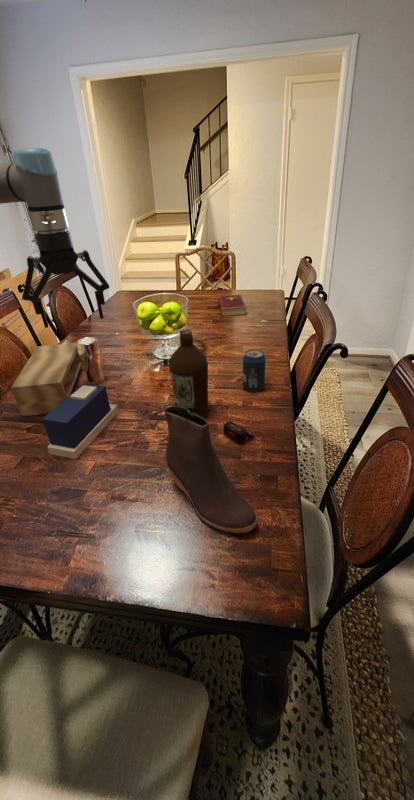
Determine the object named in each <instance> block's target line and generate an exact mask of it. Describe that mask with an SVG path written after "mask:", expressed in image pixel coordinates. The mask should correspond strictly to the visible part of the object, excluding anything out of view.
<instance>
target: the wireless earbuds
mask: <svg viewBox="0 0 414 800" xmlns="http://www.w3.org/2000/svg"><path fill="white" fill-rule="evenodd" d="M223 435H224V436H225V437H227V438H229V439H231V440H232V441H234V442H235V443H237V444H239V445H242V444H243V443H245V442H246V441H247V439H248V440H251V439H254V438H255V435H253V434H252V433H251V432H250V431H248V430H247V429H246V428H244V427H243V426H240V425H239V424H237V423H236V422H233V421H227V422H225V423H224V424H223Z"/></svg>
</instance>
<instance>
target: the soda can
mask: <svg viewBox="0 0 414 800" xmlns="http://www.w3.org/2000/svg"><path fill="white" fill-rule="evenodd" d="M265 379H266V357H265V354H264V352H263V351H262V350H260V349H248V350H246V351H244V355H243V357H242V386H243V387H244V388H245V390H246V391H248V392H254V393H255V392H259V391H261V390H262V389H263V388H264V386H265V384H266V381H265Z"/></svg>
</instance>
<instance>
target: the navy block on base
mask: <svg viewBox="0 0 414 800" xmlns="http://www.w3.org/2000/svg"><path fill="white" fill-rule="evenodd" d="M119 412H120V411H119V406H118V404H113V403H110V400H109V396H108V391H107V387H106V385H90V384H88V383H82V384H81V385H80V386H79V387H78V388H76V390H74V391H72V392H71V395H70V396H69V397H67V398H66V399H65V400H64V401H63V402H61V403H60V404H59V405H58V406H57V407H56V408H54V409H53V410H52V411H51V412H50V413H46V414H45V416H44V417H42V418H41V419H42V420H41V421H42V423H43V426H44V429H45V432H46V434H47V437H48V440H49V444H48V446H46V448H47V451H48V454H49V455H52V456H57V457H62V458H66V459H73V460H77V459H78V458H79V457H80V456H81V454H82V453H83V452H84V451H85V450H86V449H87V448H88V447H89V446H90V444H92V443H93V441H94V440H95V439H96V438H97V437H98V436H99V435H100V433H101V432H102V431H103V430H104V429H105V428H106V426H108V424H110V423H111V421H112V420H113V419H114V418H115V417H116V416H117V415H118V414H119Z"/></svg>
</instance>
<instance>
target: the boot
mask: <svg viewBox="0 0 414 800" xmlns="http://www.w3.org/2000/svg"><path fill="white" fill-rule="evenodd" d="M163 412H164V415H165V418H166V422H167V429H168V433H167V434H168V441H167V445H166V450H165V457H166V461H165V462H166V466H167V469H168V470H169V472H170V474H171V476H172V478H173V480H174V483H175V484H176V485H177V487H178V488H179V489H181V491H182V492H183V493H184V494H185V495H186V496H187V497H188V499H189V500H190V501H191V503H192V505H193V508H194V509H195V512H196V513H197V515H198V516H199V518H200V519H201V520H202V521H203V522H204V523H206V524H207V525H209V526H211V527H213V528H215V529H217V530H220V531H223V532H227V533H233V534H244V533H248V532H251V531H253V530H254V529H255V527H256V526H257V524H258V523H257V522H258V517H257V514H256V512H255V510H254V508H253V506H252V505H251V503H249V502H248V501H247V500H246V499H245V498H244V496H243V495H241V493H240V491H238V489H237V488H236V486H235V485H234V483H233V482H232V481H231V480H230V478H229V477H228V474H227V472H226V471H225V468H224V467H223V464H222V463H221V460H220V458H219V456H218V454H217V452H216V450H215V447H214V445H213V444H212V441H211V440H212V439H211V434H210V425H209V422H208V420H207V419H205V418H204V417H200V416H199V415H196V414H195V413H192V414H191V412H190V411H189V410H188V409H186V408H184V407H181V406H175V405H171V406H168V407H166V408H164V409H163Z"/></svg>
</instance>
